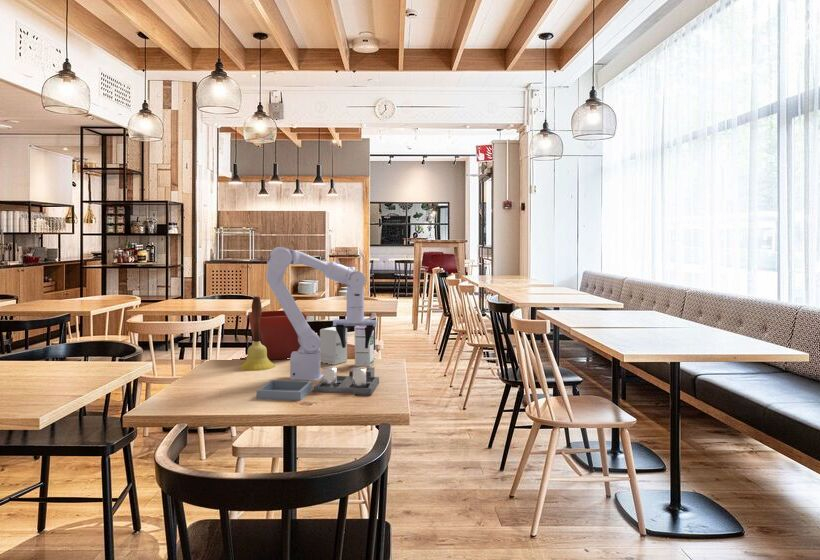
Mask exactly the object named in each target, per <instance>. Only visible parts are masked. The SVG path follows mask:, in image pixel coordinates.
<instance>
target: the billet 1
mask: <svg viewBox="0 0 820 560" xmlns="http://www.w3.org/2000/svg"><path fill="white" fill-rule="evenodd" d="M322 372H323V373H322V374H323V377H322V379H323V387H337V376H338V368H337V367H336V366H325V367H323V371H322Z"/></svg>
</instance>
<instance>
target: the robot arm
mask: <svg viewBox="0 0 820 560" xmlns="http://www.w3.org/2000/svg"><path fill="white" fill-rule="evenodd" d="M266 260H267V261H266V262H267V263H266V264H267V265H266V277H265V279H266V282H267V284H268V286H269V288H270V289H271V291H272V292H273V295H274V296H275V297H276V300H277V301H278V304H279V305H280V307H281V308H282V310H284V312H285V313H286V315H287V317H288V319H289V320H290V322H291V324H292V326H293V327H294V329H295V331H296V333H297V335H298V342H299V344H300V345H301V347H300V348H299V349H298V351H293V352H292V354H291V358H289V360H290V361H289V365H290V366H289V375H290V376H289V377H290V378H289V379H290V380H298V381H319V380H320V379H321V380H322V379H323V373H321V372H322V371H321V370H322V369H321V364H322V363H320V345H321V339H320V335H318V334H317V333H316V332H315V330H313V329H312V328H311V326H310V325H309V323H308V322H307V319H306V320H305V318H304V316H303V314H302V313H303V312H302V311H301V309H300V307H299V306H298V304H297V302H296V300H295V299H294V297H293V295H292V293H291V291H290V290H289V289H288V287H287V285H286V284H285V281H284V279H283V278H284V276H285V273H286V270H287V269H288V267H289V266H290V265H301V264H302V265H303V266H307V267H310V268H313V269H315V270H318V271H320V272H323V273H324V276H325V278H327V279H330V280H332V281H334V282H338V283H340V284H343V285H346V319H344V318H343V319H342V318H340V319H337V318H336V319H333V320H332V327H336V330H337V332H338V334H339V337H340V340H341V343H342V348H345V347H346V339H345V333H346V328H347V327H355V326H366V327H365V348H368V345H369V340H370V337H371V334H372V332H373V330H374V331H375V327H376V328H377V327H378V320H377V319H365V293H364V289H365V288H364V286H365V285H366V282H367V279H366V276H365V275H364V274H363V272H361V271H359V270H356V269H354V268H353V267H352V266H350V267H348V266H346V265H344V264H341V262H340V261H338V260H335V261H334V260H331V261H329V262H326V261H323V260H320V259H319V258H316V257H314V256H311V255H309V254H307V253H305V252H302V251H298V250H294V249H291V248H287V247H284V246H277V247H274V248H273V249H272V250H271V251H270V253H269V255H268V257H267V259H266ZM301 312H302V313H301Z"/></svg>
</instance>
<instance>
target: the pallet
mask: <svg viewBox="0 0 820 560" xmlns="http://www.w3.org/2000/svg"><path fill="white" fill-rule="evenodd" d="M379 384H380V376H374V377H366V388H353V376H349V375H337V387H323V378H321V380H320V381H319V382H318V383H316V385H314V387H313V392H314V393H317V392H318V393H335V394H336V393H338V394H339V393H340V394H341V393H342V394H354V396H372V395H373V393H374V392H375V391H376V389H377V388H378V386H379Z"/></svg>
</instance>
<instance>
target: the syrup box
mask: <svg viewBox="0 0 820 560" xmlns="http://www.w3.org/2000/svg"><path fill="white" fill-rule="evenodd" d="M365 327H366V326H353V328H354V367H371V366H372V365H374V364H375V336H374V334H375V333H374V331H375V329H374V330H373V332H372V334H371V337H370V340H369V345H368V348H365Z"/></svg>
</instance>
